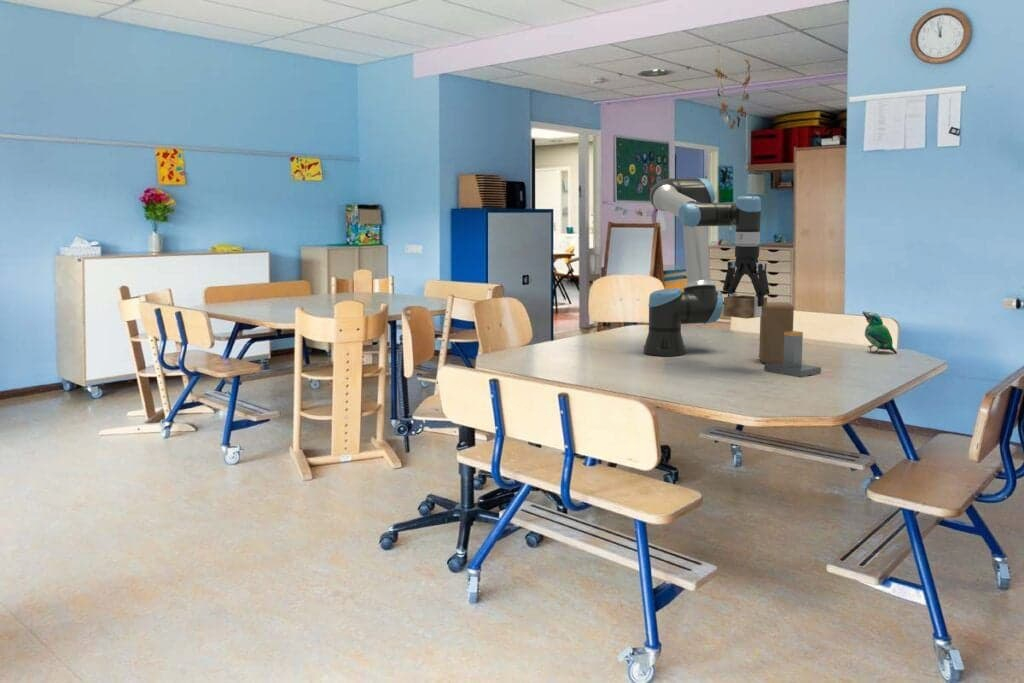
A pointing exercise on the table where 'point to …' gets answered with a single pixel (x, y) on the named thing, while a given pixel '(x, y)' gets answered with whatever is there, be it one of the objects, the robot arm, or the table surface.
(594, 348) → the table surface
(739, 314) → the wooden cube shelf
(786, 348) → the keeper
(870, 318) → the toy
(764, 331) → the block
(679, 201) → the robot arm
